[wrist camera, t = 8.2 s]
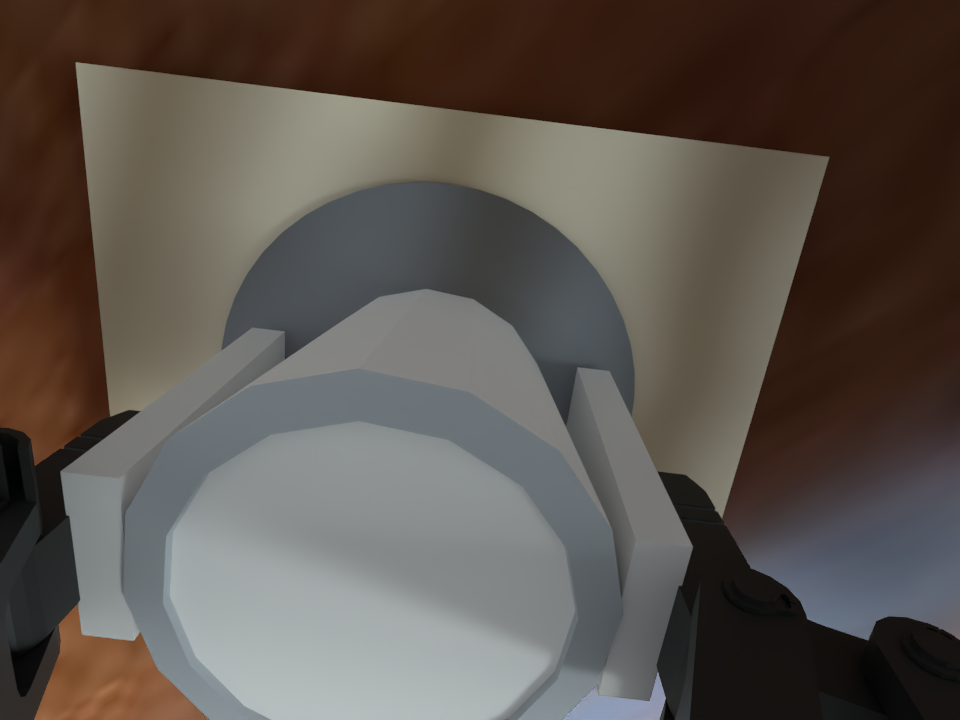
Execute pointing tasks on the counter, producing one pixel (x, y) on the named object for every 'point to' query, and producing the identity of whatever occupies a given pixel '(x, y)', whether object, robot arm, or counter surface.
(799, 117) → the counter surface
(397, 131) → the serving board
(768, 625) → the robot arm
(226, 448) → the shot glass
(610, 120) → the counter surface
